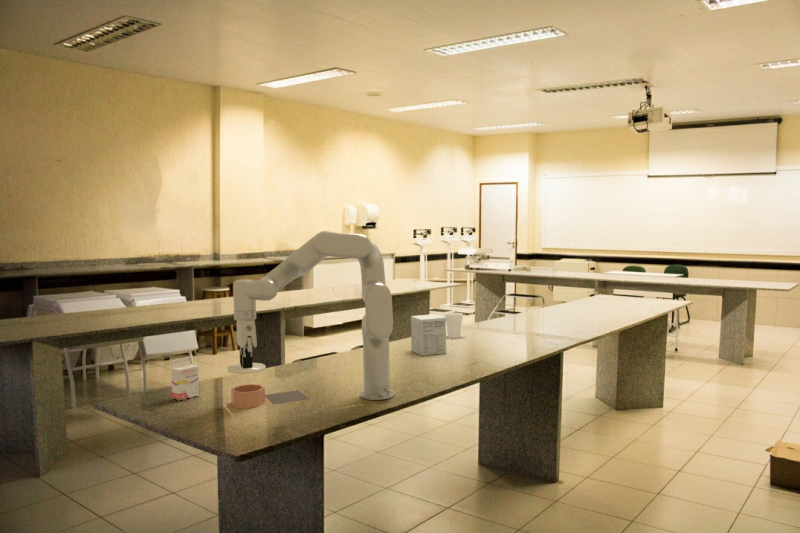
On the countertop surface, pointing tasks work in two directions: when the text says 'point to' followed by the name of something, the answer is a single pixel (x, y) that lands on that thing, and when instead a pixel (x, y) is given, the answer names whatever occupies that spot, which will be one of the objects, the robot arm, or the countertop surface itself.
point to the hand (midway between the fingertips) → (246, 366)
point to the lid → (240, 370)
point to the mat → (286, 397)
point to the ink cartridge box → (184, 379)
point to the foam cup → (453, 324)
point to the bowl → (248, 396)
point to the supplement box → (428, 334)
